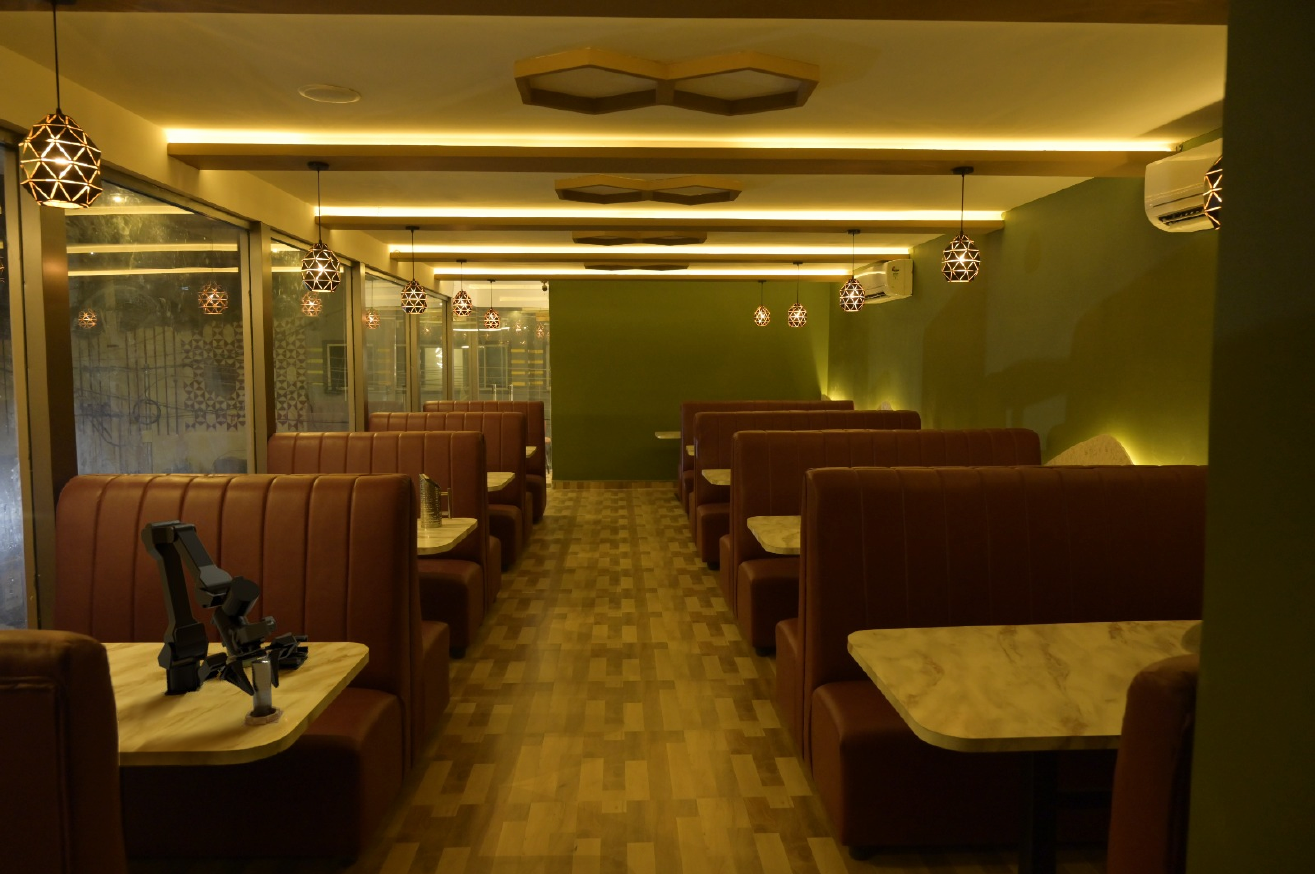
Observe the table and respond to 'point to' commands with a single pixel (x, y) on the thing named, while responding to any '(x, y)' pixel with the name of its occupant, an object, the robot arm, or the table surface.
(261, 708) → the peg
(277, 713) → the ring stand
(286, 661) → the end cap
